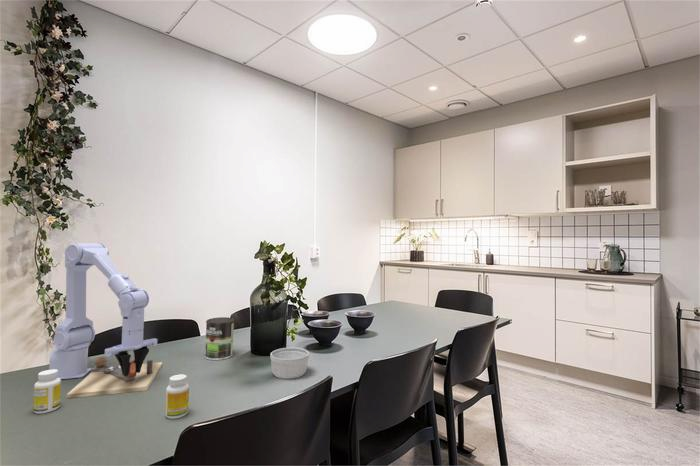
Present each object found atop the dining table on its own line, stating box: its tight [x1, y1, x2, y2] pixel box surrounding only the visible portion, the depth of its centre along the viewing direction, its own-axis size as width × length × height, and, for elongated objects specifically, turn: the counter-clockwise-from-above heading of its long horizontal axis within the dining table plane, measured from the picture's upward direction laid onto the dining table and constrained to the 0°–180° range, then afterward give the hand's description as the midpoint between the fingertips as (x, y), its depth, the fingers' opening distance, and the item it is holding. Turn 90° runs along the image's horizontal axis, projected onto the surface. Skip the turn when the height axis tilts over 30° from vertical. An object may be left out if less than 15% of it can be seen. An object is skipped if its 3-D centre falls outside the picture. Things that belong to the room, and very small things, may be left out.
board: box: [66, 356, 163, 399], centre depth 112 cm, size 20×22×5 cm
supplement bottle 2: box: [164, 373, 190, 420], centre depth 91 cm, size 5×5×10 cm
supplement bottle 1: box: [32, 369, 62, 415], centre depth 92 cm, size 5×5×10 cm
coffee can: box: [204, 316, 235, 361], centre depth 137 cm, size 10×10×14 cm
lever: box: [104, 359, 137, 381], centre depth 112 cm, size 16×4×6 cm, turn 57°
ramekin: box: [269, 347, 310, 380], centre depth 120 cm, size 13×13×7 cm
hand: (131, 373), depth 109 cm, fingers open, 3 cm apart
